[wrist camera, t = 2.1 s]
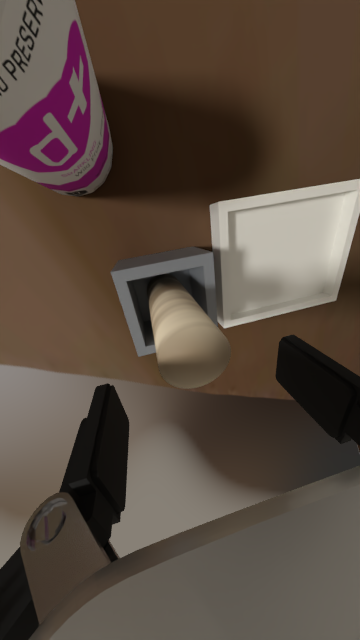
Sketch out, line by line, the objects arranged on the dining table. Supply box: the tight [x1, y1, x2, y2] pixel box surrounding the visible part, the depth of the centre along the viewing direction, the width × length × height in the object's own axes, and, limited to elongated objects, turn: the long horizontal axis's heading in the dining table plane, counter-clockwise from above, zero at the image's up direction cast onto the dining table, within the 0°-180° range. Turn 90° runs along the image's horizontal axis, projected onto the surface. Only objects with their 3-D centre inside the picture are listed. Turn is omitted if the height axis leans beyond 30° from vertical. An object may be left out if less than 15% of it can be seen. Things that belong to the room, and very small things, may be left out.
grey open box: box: [111, 247, 218, 357], centre depth 21 cm, size 9×9×7 cm
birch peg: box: [147, 274, 231, 388], centre depth 17 cm, size 4×4×14 cm
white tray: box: [210, 179, 360, 328], centre depth 24 cm, size 15×18×2 cm
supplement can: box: [0, 0, 113, 196], centre depth 9 cm, size 8×8×15 cm
